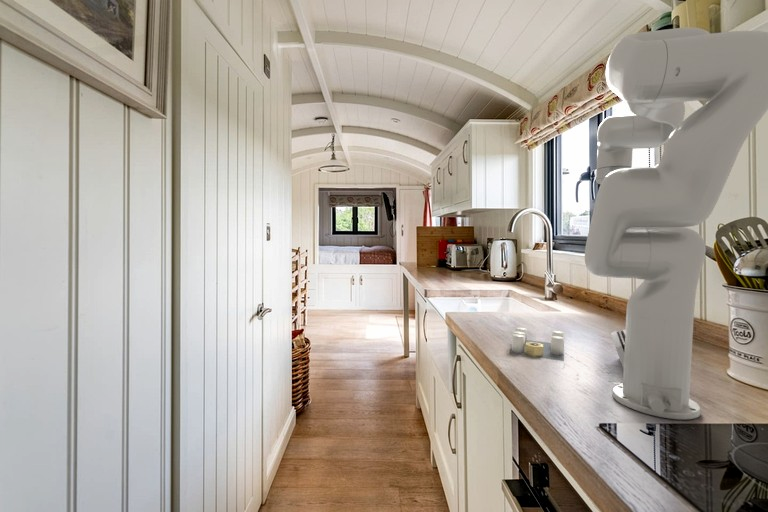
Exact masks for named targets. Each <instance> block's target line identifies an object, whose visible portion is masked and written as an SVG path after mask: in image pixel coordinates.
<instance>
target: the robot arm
mask: <svg viewBox="0 0 768 512" xmlns="http://www.w3.org/2000/svg"><path fill="white" fill-rule="evenodd" d="M608 56H609V57H608V60H607V63H606V69H605V78H606V84H607V86H608V87H609V89H610V90H611V91H612V92H613V93H614V94H615V95H617V96H618V97H619V98H620V99H621V100H622V101H623V102H626V105H627V107H628V109H629V111H631V113H632V114H626V115H625V114H624V115H623V114H622V115H611V116H608V117H606V118H605V119H603V120H602V122H601V123H600V124H599V126H598V127H597V133H596V134H597V135H596V139H597V153H596V155H597V156H596V174H595V175H596V176H595V185H596V184H598V185H599V187H598V191H597V194H596V196H595V197H596V198H595V201H594V205H593V210H592V211H593V212H592V214H591V215H592V216H591V221H590V225H589V229H588V234H587V238H586V243H585V248H584V263H585V266H586V268H587V270H588V271H589V272H590V273H591V274H593V275H595V276H597V277H601V278H614V279H615V278H617V279H635V280H636V279H637V280H643V282H642V283H640V285H638V286H637V288H635V290H634V291H633V292H632V293H631V295H630V296H629V298H628V300H627V304H626V311H625V312H626V313H625V314H626V316H625V330H626V331H625V342H624V344H625V351H624V369H623V375H622V384H617V385H615V386H614V387H612V391H611V393H612V394H611V395H612V396H613V399H614V400H616V402H618V403H620V404H621V405H623V406H625V407H626V408H627V407H628V408H629V409H632V410H634V411H637V412H640V413H643V414H646V415H651V416H655V417H658V418H664V419H665V418H666V419H671V420H684V421H685V420H686V421H687V420H693V419H697V418H699V417H700V416H701V405H699V404H698V403H697V402H696V401H694V400H693V399H691V398H690V388H691V370H692V369H691V368H692V353H693V335H694V321H695V320H694V319H695V303H696V294H697V289H698V284H699V279H700V275H701V272H702V269H703V265H704V262H705V257H706V251H707V248H706V244H705V240H704V238H703V236H702V235H701V234H699V233H698V232H697V231H696V230H694V229H691V228H689V227H695V226H699V225H700V224H703V223H704V222H705V221H706V220H707V219H708V218H710V215H712V213H713V211H714V209H715V206H716V205H717V203H718V200H719V199H720V196H721V194H722V192H723V189H724V187H725V185H726V183H727V180H728V178H729V176H730V174H731V172H732V169H733V167H734V165H735V163H736V160H737V158H738V155H739V152H740V151H741V149H742V147H743V145H744V143H745V142H746V140H747V139H748V137H750V136H749V135H750V134H751V133H752V131H753V130H754V128H755V127H756V126H757V124H758V123H759V122H760V121H761V120H762V118H763V117H764V115H765V114H766V113H767V111H768V31H761V30H735V31H724V32H723V31H722V32H713V33H711V32H709V31H708V30H705V29H703V28H700V27H691V26H690V27H689V26H688V27H676V28H668V29H661V30H650V31H642V32H635V33H631V34H628V35H626V36H624V37H623V38H621V39H620V40H619V41H618V42H617V43H616V44H615V45H614V47H613V49H612V50H611V53H610V55H608ZM694 101H695V102H696V101H706V103H705V104H703V105H702V106H701V107H698V109H696V110H695V111H694V112H692V113H691V114H690V115H689V116H688V117H686V118H685V112H686V107H685V106H686V105H685V103H686V102H694ZM662 146H664V148H663V153H662V156H661V158H660V161H659V162H658V163H657V164H656V165H655V166H651V167H648V166H647V167H633V166H632V165H633V150H634V149H655V148H659V147H662Z"/></svg>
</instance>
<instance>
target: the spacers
mask: <svg viewBox="0 0 768 512" xmlns="http://www.w3.org/2000/svg"><path fill="white" fill-rule="evenodd" d="M511 338H512V339H511V349H512V351H513V352H516V353H524V349H525V344H526V342H527V340H528V329H527V327H526V328H525V327H515V331H513V332H512V337H511ZM550 343H551V351H550V353H552V354H555V355H563V353H564V354H565V333H564V332H563V331H559V330H552V331H551V336H550Z"/></svg>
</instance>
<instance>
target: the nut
mask: <svg viewBox="0 0 768 512" xmlns="http://www.w3.org/2000/svg"><path fill="white" fill-rule="evenodd" d="M525 354H527V355H531V356H530V357H534V356H543V344H540V343H536V342H526V350H525ZM527 355H526V356H527Z"/></svg>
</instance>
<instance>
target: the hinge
mask: <svg viewBox="0 0 768 512" xmlns="http://www.w3.org/2000/svg"><path fill="white" fill-rule="evenodd" d="M625 331H626V329H622V330H621V331H620V332H619V331H617V330H615V331H613V332H611V333H610V334H611V338H612V340H613V343H614V346H615V349H616V352H617V355H618V358H619V360H620V361H619V362H620V363H621V367H622V369H623V370H624V351H625Z"/></svg>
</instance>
